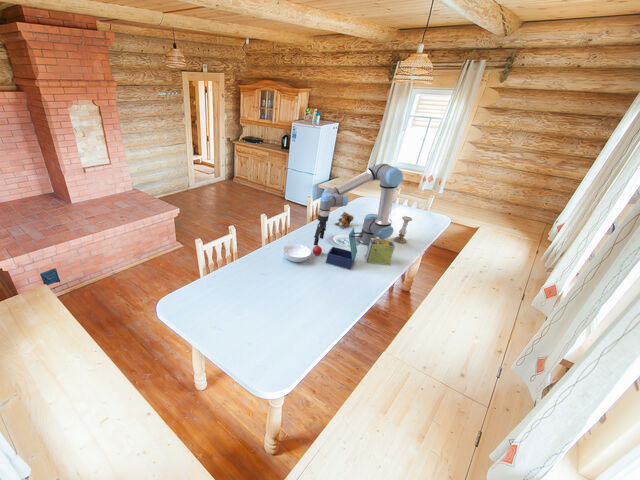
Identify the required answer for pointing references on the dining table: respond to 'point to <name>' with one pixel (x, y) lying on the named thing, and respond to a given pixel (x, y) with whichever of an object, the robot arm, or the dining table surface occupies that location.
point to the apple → (317, 250)
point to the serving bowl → (296, 252)
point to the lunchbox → (340, 258)
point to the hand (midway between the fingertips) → (318, 241)
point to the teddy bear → (345, 220)
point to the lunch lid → (354, 242)
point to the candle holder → (403, 230)
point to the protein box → (380, 251)
